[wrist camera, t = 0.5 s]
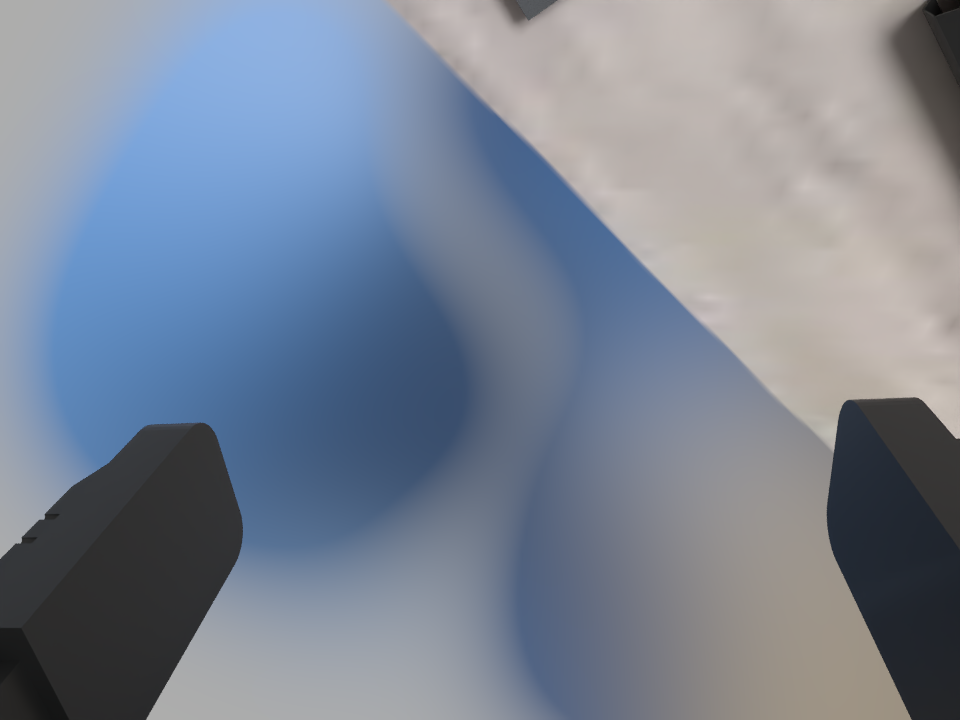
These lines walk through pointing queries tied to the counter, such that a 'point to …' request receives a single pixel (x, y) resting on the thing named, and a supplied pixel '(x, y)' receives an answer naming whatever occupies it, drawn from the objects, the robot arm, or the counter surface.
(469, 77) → the counter surface
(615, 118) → the counter surface
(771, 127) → the counter surface
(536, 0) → the mounting plate
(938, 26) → the black book
